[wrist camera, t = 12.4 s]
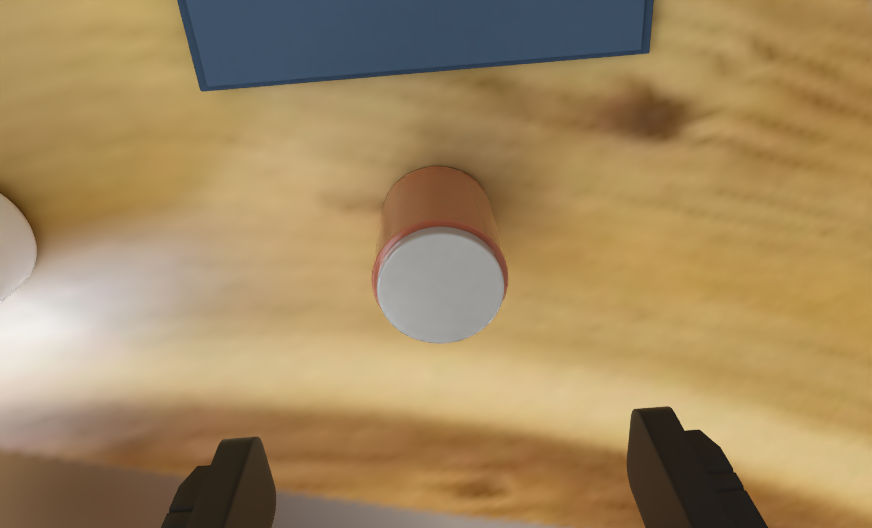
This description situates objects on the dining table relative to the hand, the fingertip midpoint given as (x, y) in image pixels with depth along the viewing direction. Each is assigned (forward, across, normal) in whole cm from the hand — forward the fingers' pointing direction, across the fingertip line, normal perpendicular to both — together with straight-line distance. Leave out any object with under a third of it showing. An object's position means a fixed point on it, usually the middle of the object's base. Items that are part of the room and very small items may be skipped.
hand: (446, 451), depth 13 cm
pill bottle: (+13, 0, 0) cm, 13 cm away
